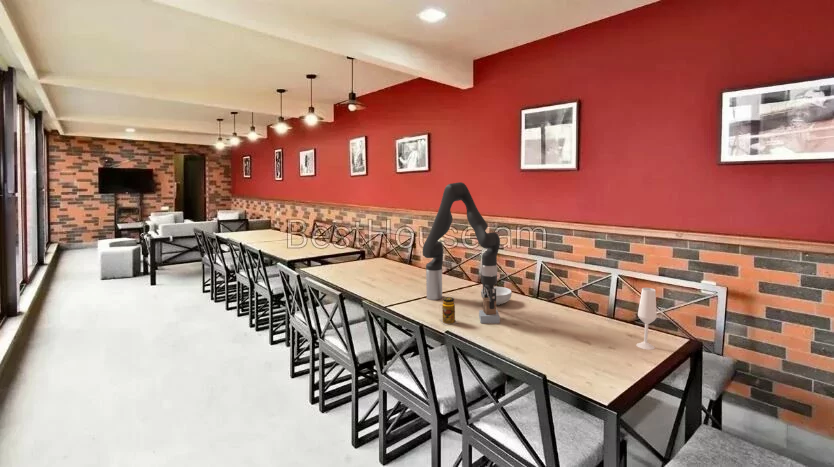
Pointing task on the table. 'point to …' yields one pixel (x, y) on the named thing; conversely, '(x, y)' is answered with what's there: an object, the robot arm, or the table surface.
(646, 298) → the champagne flute
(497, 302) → the cereal bowl
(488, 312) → the walnut block
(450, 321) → the condiment
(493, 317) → the slate base
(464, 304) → the table surface
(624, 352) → the table surface
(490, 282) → the robot arm
